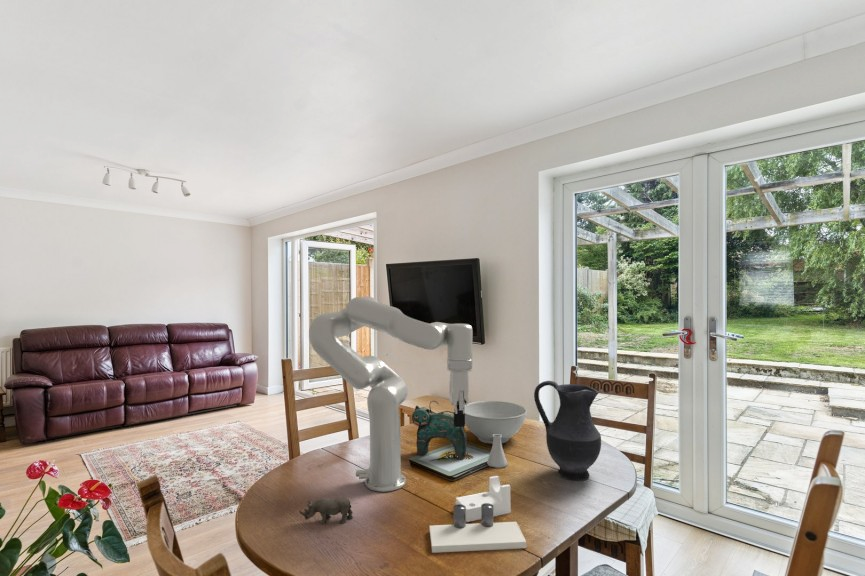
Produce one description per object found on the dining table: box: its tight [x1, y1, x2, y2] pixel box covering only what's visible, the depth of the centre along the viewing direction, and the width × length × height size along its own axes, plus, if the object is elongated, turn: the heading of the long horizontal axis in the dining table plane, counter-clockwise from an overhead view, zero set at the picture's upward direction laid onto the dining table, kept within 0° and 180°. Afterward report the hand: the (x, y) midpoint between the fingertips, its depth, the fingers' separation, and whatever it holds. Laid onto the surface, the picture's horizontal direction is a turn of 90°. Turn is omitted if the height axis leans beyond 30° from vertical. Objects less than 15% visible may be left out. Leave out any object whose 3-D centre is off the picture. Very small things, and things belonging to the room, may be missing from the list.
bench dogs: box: [453, 503, 494, 528], centre depth 112 cm, size 10×3×6 cm, turn 94°
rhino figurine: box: [299, 497, 354, 525], centre depth 117 cm, size 4×14×6 cm, turn 94°
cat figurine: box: [411, 400, 468, 460], centre depth 163 cm, size 20×6×20 cm, turn 72°
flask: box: [486, 434, 509, 468], centre depth 154 cm, size 7×7×10 cm
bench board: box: [429, 521, 527, 554], centre depth 108 cm, size 22×9×2 cm, turn 94°
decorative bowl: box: [465, 400, 528, 445], centre depth 180 cm, size 27×27×12 cm
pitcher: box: [533, 380, 602, 481], centre depth 146 cm, size 17×21×30 cm
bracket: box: [455, 475, 512, 523], centre depth 121 cm, size 13×7×8 cm, turn 111°
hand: (459, 425), depth 134 cm, fingers closed
